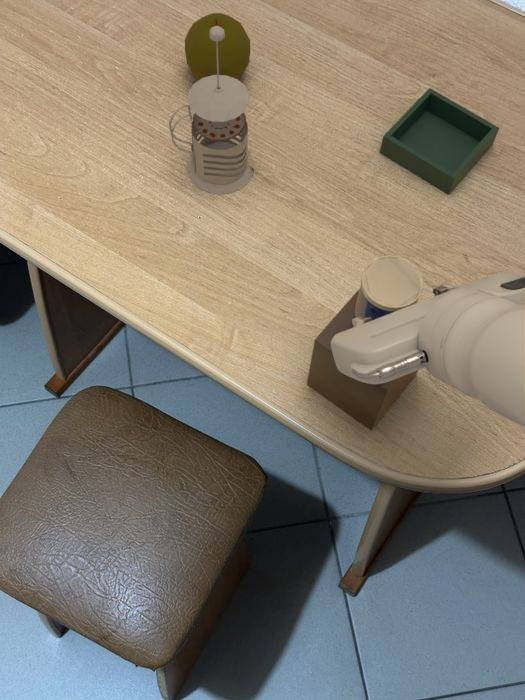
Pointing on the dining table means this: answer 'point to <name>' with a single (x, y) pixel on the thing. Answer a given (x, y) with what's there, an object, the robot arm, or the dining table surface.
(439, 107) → the bin
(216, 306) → the dining table surface
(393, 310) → the canister
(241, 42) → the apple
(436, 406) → the dining table surface
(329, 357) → the block
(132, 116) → the dining table surface
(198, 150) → the french press
